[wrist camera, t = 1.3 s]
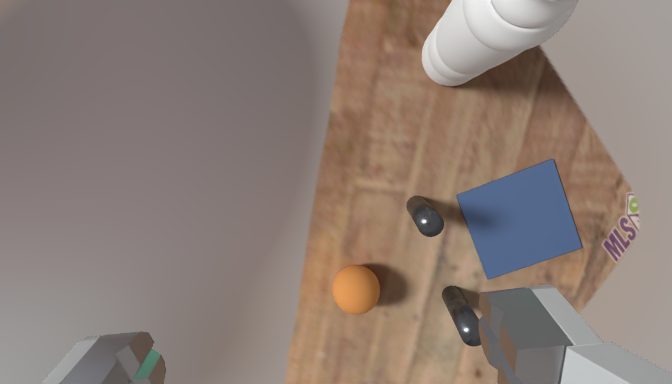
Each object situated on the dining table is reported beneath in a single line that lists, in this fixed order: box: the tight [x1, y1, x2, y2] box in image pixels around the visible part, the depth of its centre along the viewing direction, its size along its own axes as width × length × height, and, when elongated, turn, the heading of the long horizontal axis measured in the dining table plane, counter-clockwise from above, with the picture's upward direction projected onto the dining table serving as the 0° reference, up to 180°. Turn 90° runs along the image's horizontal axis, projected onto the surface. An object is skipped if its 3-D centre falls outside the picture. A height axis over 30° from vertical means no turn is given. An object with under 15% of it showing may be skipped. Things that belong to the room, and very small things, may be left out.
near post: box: [407, 196, 444, 237], centre depth 38 cm, size 3×3×9 cm
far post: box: [442, 286, 481, 346], centre depth 40 cm, size 3×3×9 cm
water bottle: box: [422, 0, 578, 86], centre depth 27 cm, size 7×7×25 cm
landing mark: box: [456, 159, 582, 279], centre depth 42 cm, size 12×12×1 cm
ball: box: [333, 265, 380, 315], centre depth 42 cm, size 6×6×6 cm
